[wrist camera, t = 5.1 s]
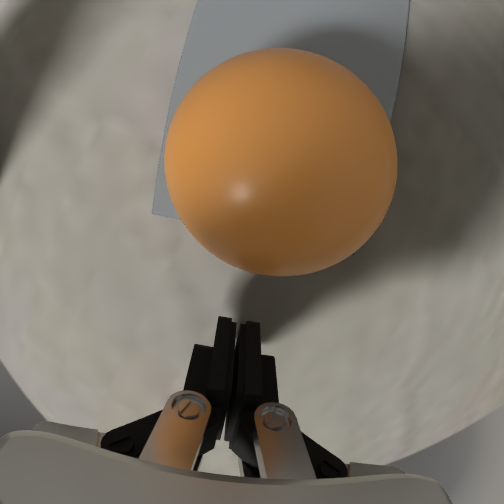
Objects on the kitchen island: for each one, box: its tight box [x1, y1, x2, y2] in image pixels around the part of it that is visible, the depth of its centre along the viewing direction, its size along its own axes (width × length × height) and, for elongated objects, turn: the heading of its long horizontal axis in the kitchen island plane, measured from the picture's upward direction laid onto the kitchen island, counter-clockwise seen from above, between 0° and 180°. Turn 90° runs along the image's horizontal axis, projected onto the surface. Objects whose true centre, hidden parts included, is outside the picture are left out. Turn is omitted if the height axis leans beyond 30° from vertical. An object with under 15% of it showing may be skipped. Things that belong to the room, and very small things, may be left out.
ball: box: [164, 48, 398, 276], centre depth 8 cm, size 6×6×6 cm
